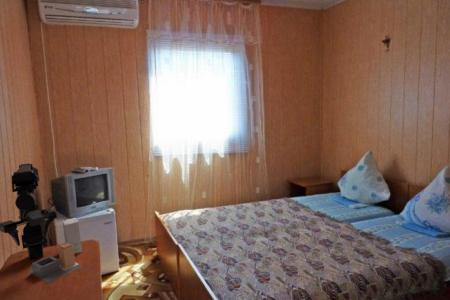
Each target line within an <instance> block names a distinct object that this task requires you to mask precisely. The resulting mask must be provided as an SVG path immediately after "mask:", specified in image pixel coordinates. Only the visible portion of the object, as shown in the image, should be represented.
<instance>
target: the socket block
mask: <svg viewBox="0 0 450 300" xmlns="http://www.w3.org/2000/svg"><path fill="white" fill-rule="evenodd" d="M31 266H32V267H31V269H30V270H27V273H30V274H32V275H33V276H35V277H37V278H38V279H39V280H42V281H44V282H45V283H47V284H48V283H50V282H53V281H55V280H57V279H59V278H62V277H63V276H66V275H68V274H70V273H72V272H74V271H77V270H79V269H80V268H81V269H82V268H83V267H84V266H83V265H81V264H80V263H78V262H76V261H75V265H74V266H71V267H69V268H67V269H65V268H63V267H61V266H60V257H58V258H55V257H54V256H51V255H49V256H47V257H43V258H40V259H38V260H36V261H34V262H32V263H31Z"/></svg>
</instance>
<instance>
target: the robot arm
mask: <svg viewBox="0 0 450 300" xmlns="http://www.w3.org/2000/svg"><path fill="white" fill-rule="evenodd" d="M39 182H40V175H39V170H38V168H36V167H34V165H33V163H23V164H22V163H21V164H19V165H18V169H17V170H16V171H14V172H13V174H11V192H12V193H16V195H17V196H16V198H15V201H14V202H15V203H14V204H15V207H16V208H17V209H18V212H19V215H18V220H17V221H13V220H12V219H9V220H6V221H2V222H0V232H1V233H4V234H8V235H10V237H11V238H12V239H13V240H14V242H15V244H16V245H17V247H20V246H21V244H22V249H23V250H24V249H26V250H27V256H26V257H25V259H26V258H28V259H29V260H41V259H43V258H44V255H45V254H44V246H43V245H46V244H48V234H47V233H48V228H49V226H50V224H51V223H52V222H53V221H54V220H56V219H57V218H58V213H57V212H56V210H52V209H48V208H43V209H41V210H40V209H39V205H38V204H37V202H36V190H37V188H38V187H39ZM20 226H23V228H22V234H21V242H20V237H19V229H18V227H20Z"/></svg>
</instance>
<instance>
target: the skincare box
mask: <svg viewBox="0 0 450 300" xmlns="http://www.w3.org/2000/svg"><path fill="white" fill-rule="evenodd" d="M62 227H63V234H64V243H65V244H66V243H69V244H71V245H72V246H73V247H74V255H75V254H80V253H83V247H82V241H81V240H82V239H81V231H80V225H79V220H78V218H77V217H73V218H69V219H64V220H62Z"/></svg>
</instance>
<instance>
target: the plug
mask: <svg viewBox="0 0 450 300" xmlns="http://www.w3.org/2000/svg"><path fill="white" fill-rule="evenodd" d="M58 255H59V257H58V258H60V266H61V267H63V268H65V269H67V268H69V267H71V266H74V265H75V262H76V257H75V254H74V247H73V246H72V245H71V244H69V243H66V244H62V245H59V247H58Z"/></svg>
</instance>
